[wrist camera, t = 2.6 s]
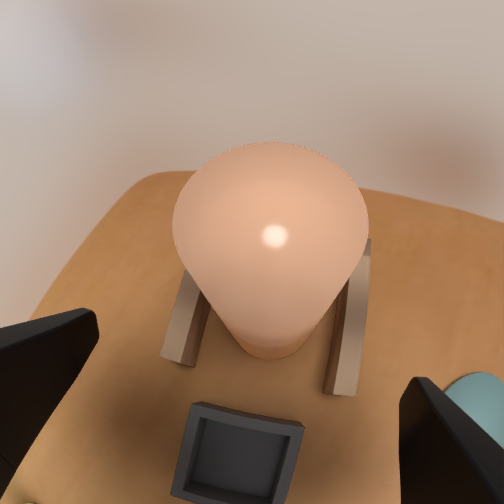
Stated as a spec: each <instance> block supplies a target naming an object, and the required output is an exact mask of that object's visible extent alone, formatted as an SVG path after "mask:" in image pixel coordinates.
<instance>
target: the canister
mask: <svg viewBox="0 0 504 504" xmlns="http://www.w3.org/2000/svg"><path fill="white" fill-rule="evenodd" d="M172 228H173V238H174V242H175V246H176V249H177V252H178V254H179V257H180V259H181V261H182V262H183V264H184V265H185V267H186V269H187V270H188V272H189V273H190V275H191V276H192V278H193V279H194V281H195V282H196V284H197V285H198V287H199V288H200V290H201V291H202V293H203V294H204V296H205V297H206V299H207V300H208V301H209V303H210V304H211V306H212V307H213V309H214V310H215V312H216V313H217V314H218V316H219V317H220V319H221V320H222V322H223V323H224V324H225V326H226V327H227V329H228V330H229V331H230V333H231V334H232V336H233V337H234V338H235V340H236V341H237V343H238V344H239V345H240V346H241V347H242V348H243V349H244V350H245V351H246V352H247V353H249V354H251V355H252V356H255V357H257V358H260V359H266V360H275V359H281V358H284V357H287V356H289V355H291V354H293V353H294V352H295V351H297V350H298V349H299V348H300V347H301V346H302V345H303V343H304V342H305V341H306V339H307V338H308V337H309V335H310V334H311V332H312V331H313V330H314V328H315V327H316V325H317V324H318V323H319V321H320V320H321V318H322V317H323V316H324V314H325V313H326V311H327V310H328V308H329V307H330V305H331V304H332V302H333V301H334V300H335V298H336V297H337V295H338V294H339V292H340V291H341V289H342V288H343V286H344V285H345V283H346V281H347V280H348V278H349V277H350V275H351V274H352V272H353V271H354V269H355V267H356V266H357V264H358V263H359V261H360V259H361V256H362V254H363V252H364V249H365V246H366V243H367V237H368V230H369V228H368V214H367V209H366V205H365V202H364V199H363V197H362V195H361V193H360V191H359V189H358V187H357V186H356V184H355V183H354V181H353V180H352V179H351V178H350V176H349V175H348V174H347V173H346V172H345V171H344V170H343V169H342V168H341V167H340V166H338V165H337V164H336V163H334V162H333V161H332V160H330V159H329V158H327V157H325V156H323V155H322V154H320V153H317V152H315V151H313V150H311V149H308V148H305V147H301V146H298V145H293V144H287V143H279V142H264V143H254V144H248V145H244V146H240V147H237V148H233V149H231V150H229V151H226V152H224V153H222V154H220V155H218V156H216V157H214V158H213V159H211V160H210V161H208V162H207V163H205V164H204V165H203V166H202V167H201V168H199V169H198V170H197V171H196V172H195V173H194V174H193V175H192V176H191V178H190V179H189V180H188V182H187V183H186V184H185V186H184V187H183V189H182V191H181V193H180V195H179V197H178V200H177V202H176V205H175V209H174V214H173V224H172Z"/></svg>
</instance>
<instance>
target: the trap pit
mask: <svg viewBox="0 0 504 504" xmlns="http://www.w3.org/2000/svg"><path fill="white" fill-rule="evenodd" d="M304 429H305V427H304V426H303V425H302V424H301V423H300V422H296V421H289V420H283V419H277V418H272V417H266V416H261V415H256V414H251V413H246V412H242V411H237V410H233V409H229V408H225V407H221V406H217V405H213V404H209V403H205V402H197V403H192V404H191V408H190V412H189V416H188V420H187V424H186V428H185V433H184V437H183V441H182V445H181V449H180V454H179V458H178V462H177V467H176V471H175V475H174V480H173V484H172V489H171V493H170V495H172V496H174V497H177V498H180V499H183V500H187V501H190V502H193V503H196V504H284V502H285V499H286V496H287V492H288V489H289V486H290V482H291V479H292V475H293V471H294V468H295V464H296V460H297V457H298V453H299V449H300V445H301V441H302V437H303V433H304Z"/></svg>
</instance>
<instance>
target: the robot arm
mask: <svg viewBox="0 0 504 504" xmlns="http://www.w3.org/2000/svg"><path fill="white" fill-rule="evenodd" d="M98 340H99V329H98V324H97V318H96V314H95V313H94V312H93V311H92V310H89V309H86V308H79V309H75V310H71V311H67V312H63V313H59V314H55V315H51V316H47V317H43V318H39V319H35V320H31V321H27V322H23V323H19V324H15V325H11V326H7V327H3V328H0V499H1V497H2V496H3V494H4V492H5V490H6V488H7V486H8V485H9V483H10V481H11V479H12V478H13V476H14V474H15V472H16V470H17V469H18V467H19V465H20V463H21V462H22V460H23V458H24V457H25V455H26V454H27V452H28V450H29V449H30V447H31V445H32V444H33V442H34V441H35V439H36V437H37V436H38V434H39V433H40V431H41V430H42V428H43V427H44V425H45V424H46V422H47V420H48V419H49V417H50V416H51V414H52V413H53V411H54V410H55V409H56V407H57V406H58V404H59V403H60V401H61V400H62V398H63V397H64V395H65V394H66V393H67V391H68V390H69V388H70V387H71V385H72V384H73V383H74V381H75V380H76V378H77V376H78V375H79V373H80V371H81V370H82V368H83V366H84V364H85V363H86V361H87V359H88V357H89V356H90V354H91V352H92V351H93V349H94V347H95V346H96V344H97V342H98ZM399 465H400V486H401V504H504V449H503V448H502V447H501V446H500V445H499V444H498V443H497V442H496V441H495V440H494V439H493V438H492V437H491V436H490V435H489V434H488V433H487V432H486V431H485V430H484V429H483V428H481V427H480V426H479V425H478V424H477V423H476V422H475V421H474V420H473V419H472V418H471V417H470V416H469V415H468V414H467V413H466V412H464V411H463V410H462V409H461V408H460V407H459V406H458V405H457V404H456V403H455V402H454V401H453V400H452V399H450V398H449V397H448V396H447V395H446V394H445V393H444V392H443V391H442V390H441V389H440V388H438V387H437V386H436V385H435V384H434V383H433V382H432V381H431V380H430V379H429V378H427V377H413V378H412V379H411V381H410V383H409V384H408V386H407V388H406V390H405V391H404V393H403V395H402V397H401V399H400V402H399Z"/></svg>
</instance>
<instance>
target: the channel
mask: <svg viewBox="0 0 504 504" xmlns="http://www.w3.org/2000/svg"><path fill="white" fill-rule="evenodd" d="M370 254H371V239H368V238H367V243H366V246H365V249H364V252H363V254H362V256H361V259H360V261H359V263H358V264H357V266H356V267H355V269H354V271H353V272H352V274H351V275H350V277H349V278H348V280H347V281H346V283H345V285H344V286H343V288H342V289H341V291H340V292H339V294H338V301H337V309H336V316H335V323H334V330H333V337H332V344H331V350H330V356H329V362H328V368H327V373H326V379H325V384H324V389H323V393H325V394H333V395H342V396H355V395H356V389H357V383H358V377H359V371H360V364H361V358H362V350H363V342H364V334H365V325H366V315H367V304H368V291H369V276H370ZM210 305H211V304H210V303H209V301H208V300H207V299H206V297H205V296H204V294H203V293H202V291H201V290H200V288H199V287H198V285H197V284H196V282H195V281H194V279H193V278H192V276H191V275H190V273H189V272H188V270H187V269H186V270H185V273H184V276H183V279H182V282H181V285H180V289H179V292H178V295H177V298H176V302H175V305H174V308H173V312H172V315H171V318H170V322H169V325H168V329H167V332H166V336H165V339H164V343H163V346H162V350H161V354H160V357H162V358H165V359H168V360H171V361H174V362H177V363H180V364H184V365H187V366H191V367H194V366H195V362H196V358H197V354H198V350H199V346H200V342H201V339H202V335H203V331H204V327H205V324H206V320H207V316H208V312H209V309H210Z"/></svg>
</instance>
